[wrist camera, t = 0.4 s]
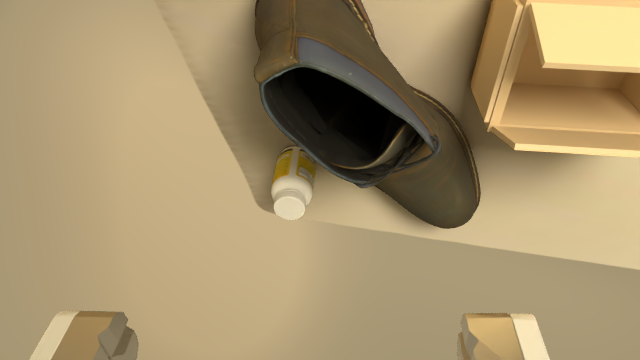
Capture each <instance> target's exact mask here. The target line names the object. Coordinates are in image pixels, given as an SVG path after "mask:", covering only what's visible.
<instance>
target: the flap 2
mask: <svg viewBox="0 0 640 360" xmlns="http://www.w3.org/2000/svg"><path fill="white" fill-rule="evenodd" d="M491 132H493V133H494V134H495V135H496V136H497V137H499V138H500V139H501V140H502V141H504V142H505V143H506V144H507V145H509V146H510V147H511V148H512V149H514V150H524V151H541V152H558V153H574V154H591V155H608V156H625V157H640V134H622V133H605V132H588V131H571V130H554V129H537V128H520V127H502V126H492V131H491Z"/></svg>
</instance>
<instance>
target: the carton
mask: <svg viewBox="0 0 640 360" xmlns="http://www.w3.org/2000/svg"><path fill="white" fill-rule="evenodd" d="M531 2H534V3H554V4H573V5H593V6H613V7H632V8H640V0H492V2H491V5H490V9H489V13H488V17H487V21H486V25H485V29H484V33H483V37H482V41H481V45H480V49H479V53H478V56H477V60H476V64H475V68H474V72H473V76H472V80H471V84H470V87H471V90H472V92H473V95H474V98H475V100H476V103H477V106H478V108H479V111H480V113H481V116H482V119H483V121H484V124H485V127H486V129H487V132H491V131H492V126H502V127H520V128H537V129H554V130H571V131H588V132H605V133H622V134H640V73H630V72H612V71H594V70H575V69H557V68H542V65H541V61H540V57H539V52H538V48H537V44H536V39H535V35H534V30H533V26H532V22H531V17H530V13H529V9H528V8H529V6H530V4H531Z"/></svg>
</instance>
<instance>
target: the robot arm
mask: <svg viewBox="0 0 640 360" xmlns="http://www.w3.org/2000/svg"><path fill="white" fill-rule="evenodd" d="M127 321H128V319H127V317H126V316H125V314H124V312H103V311H102V312H101V311H60V312H59V313H58V314H57V315H56V316H55V317H54V318H53V320H52V322H51V323H50V325H49V327H48V328H47V330H46V332H45V333H44V335H43V337H42V339H41V340H40V342H39V344H38V345H37V347H36V349H35V351H34V352H33V354H32V356H31V357H30V359H29V360H136V358H137V351H138V339H137V336H136V334H135V332H134V330H132V329H130V328H129V327H127V326H126V324H127ZM461 327H462V332H461V333H459V335H458V342H457V355H458V360H550V359H549V357H548V354H547V351H546V347H545V345H544V342H543V339H542V336H541V333H540V330H539V327H538V324H537V322H536V319H535V317H534V316H533V315H532V314H507V313H476V314H475V313H471V314H469V313H468V314H463V315H462V319H461Z"/></svg>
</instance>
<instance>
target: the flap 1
mask: <svg viewBox="0 0 640 360" xmlns="http://www.w3.org/2000/svg"><path fill="white" fill-rule="evenodd" d="M528 9H529V13H530V17H531V22H532V26H533V30H534V35H535V39H536V44H537V48H538V52H539V57H540V61H541V65H542V68H557V69H575V70H594V71H612V72H630V73H640V8H632V7H613V6H593V5H573V4H554V3H534V2H531V4H530V6H529V8H528Z"/></svg>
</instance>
